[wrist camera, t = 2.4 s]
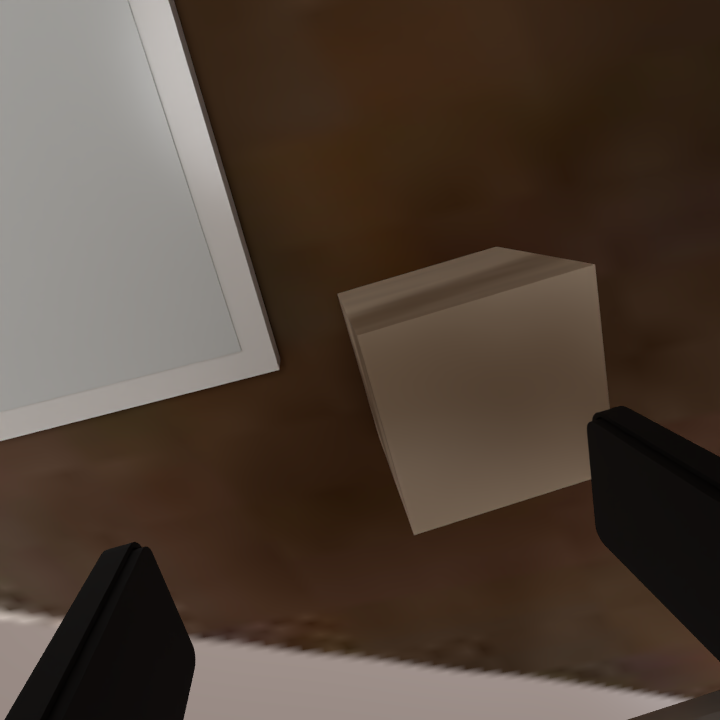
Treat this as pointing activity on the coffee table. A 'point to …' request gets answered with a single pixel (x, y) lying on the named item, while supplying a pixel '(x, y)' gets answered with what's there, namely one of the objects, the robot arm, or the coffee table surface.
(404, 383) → the maple cube
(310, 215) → the coffee table surface
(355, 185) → the coffee table surface
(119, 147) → the plate
